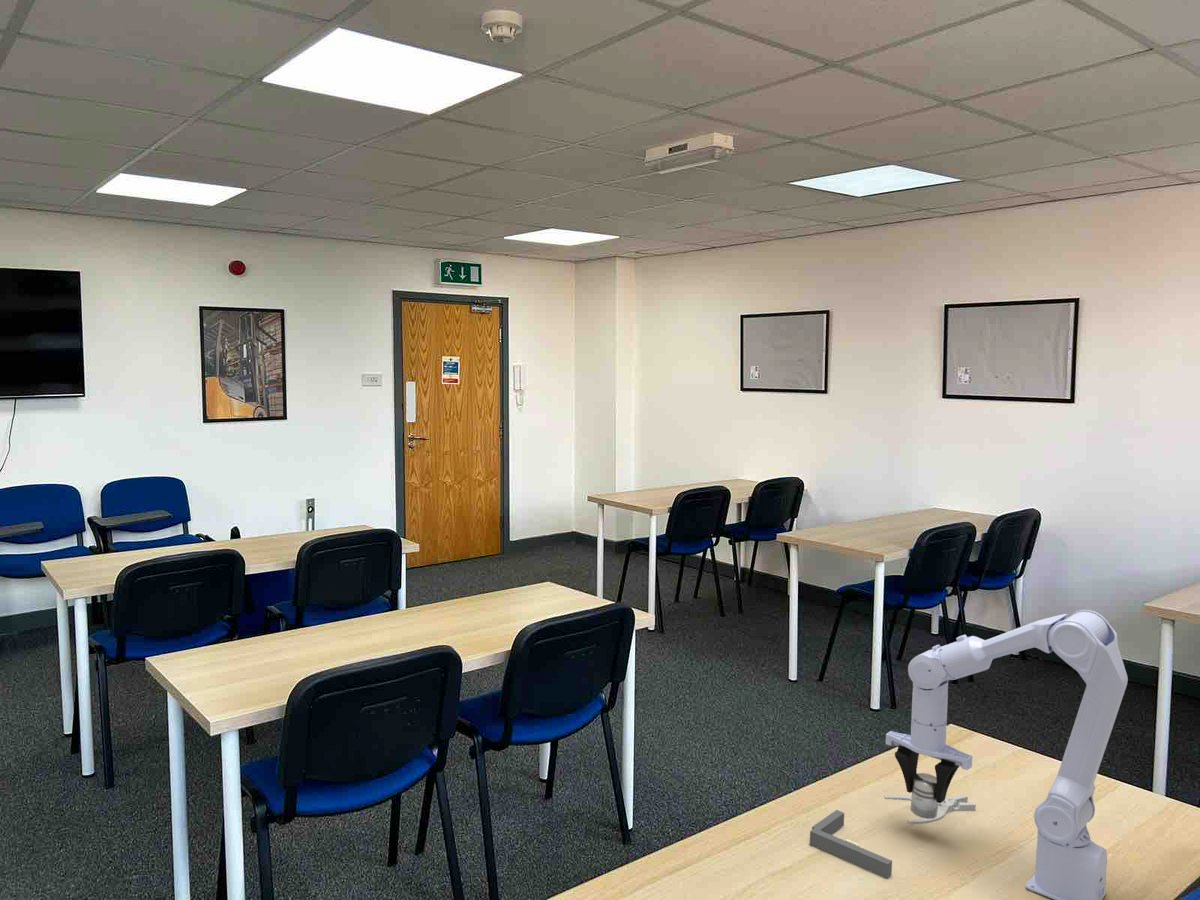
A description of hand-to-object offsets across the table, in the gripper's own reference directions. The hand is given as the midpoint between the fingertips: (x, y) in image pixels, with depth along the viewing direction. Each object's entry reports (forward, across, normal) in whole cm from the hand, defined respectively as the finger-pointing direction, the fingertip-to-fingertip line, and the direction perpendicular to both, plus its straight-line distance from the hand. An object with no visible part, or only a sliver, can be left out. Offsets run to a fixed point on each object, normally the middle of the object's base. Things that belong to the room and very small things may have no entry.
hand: (925, 795), depth 148 cm
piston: (+3, 0, 0) cm, 3 cm away
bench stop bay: (+7, +6, +12) cm, 15 cm away
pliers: (+8, +3, -11) cm, 14 cm away
